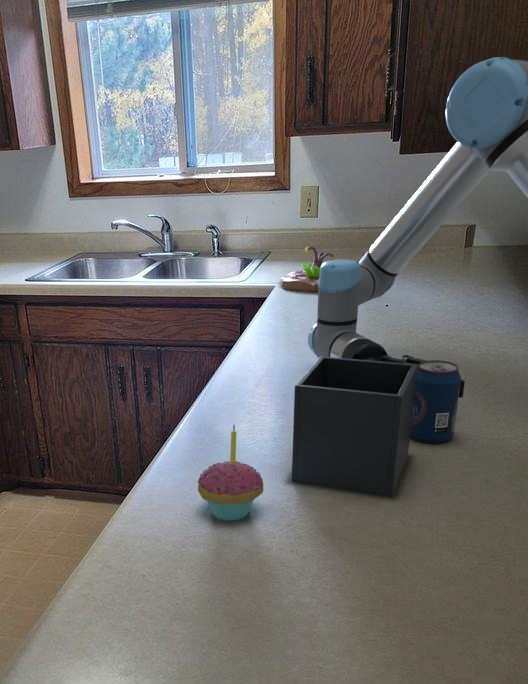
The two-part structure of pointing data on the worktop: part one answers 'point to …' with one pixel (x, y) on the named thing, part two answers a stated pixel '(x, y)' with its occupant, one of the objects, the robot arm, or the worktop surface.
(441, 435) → the soda can
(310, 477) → the open dark gray box
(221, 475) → the cupcake
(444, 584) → the worktop surface
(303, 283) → the plant
